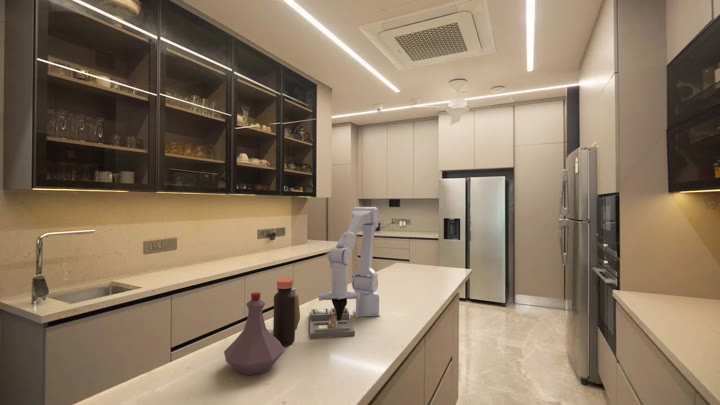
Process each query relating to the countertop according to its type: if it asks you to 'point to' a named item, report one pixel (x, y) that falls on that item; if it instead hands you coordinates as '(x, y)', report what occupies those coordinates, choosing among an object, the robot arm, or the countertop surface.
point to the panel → (321, 325)
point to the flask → (254, 343)
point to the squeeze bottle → (296, 307)
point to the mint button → (319, 311)
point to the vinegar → (284, 313)
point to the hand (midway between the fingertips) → (338, 319)
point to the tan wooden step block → (333, 321)
